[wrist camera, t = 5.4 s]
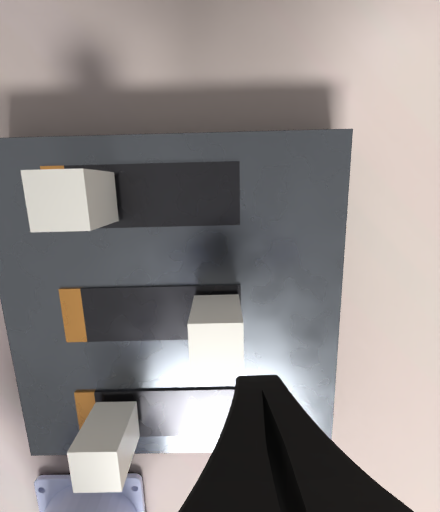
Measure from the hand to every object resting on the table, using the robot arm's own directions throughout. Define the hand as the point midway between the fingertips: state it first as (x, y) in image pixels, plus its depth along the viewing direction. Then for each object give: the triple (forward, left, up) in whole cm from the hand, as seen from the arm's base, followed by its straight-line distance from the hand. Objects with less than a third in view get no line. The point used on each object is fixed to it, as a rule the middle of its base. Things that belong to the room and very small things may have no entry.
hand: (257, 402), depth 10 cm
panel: (0, +4, -11) cm, 11 cm away
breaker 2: (-7, +8, -7) cm, 12 cm away
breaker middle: (0, +1, -7) cm, 7 cm away
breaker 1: (+6, +8, -7) cm, 12 cm away
